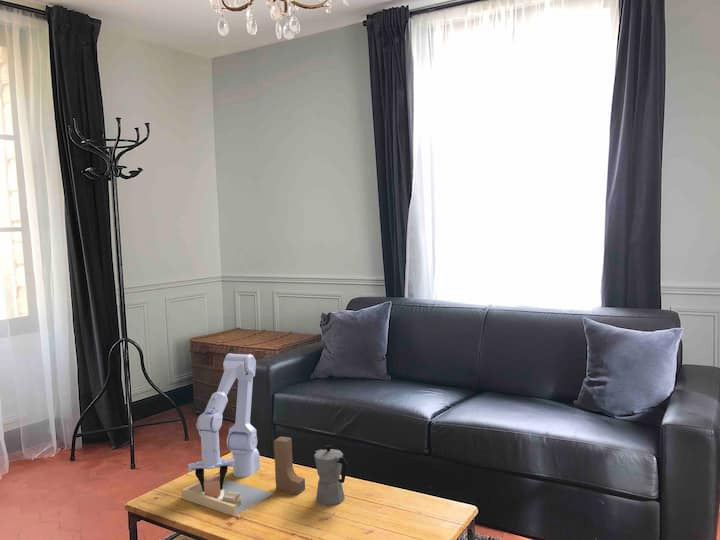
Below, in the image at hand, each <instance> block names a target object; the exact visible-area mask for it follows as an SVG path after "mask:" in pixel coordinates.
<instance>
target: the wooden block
mask: <svg viewBox="0 0 720 540" xmlns="http://www.w3.org/2000/svg"><path fill="white" fill-rule="evenodd" d="M292 441H293V440H292V437H289V436H281V435H280V436H278V437H277V438H276V439H274V440H273V448H274V449H273V451H274V468H275V469H274V472H275V473H274V474H275V476H274V477H275V491H276V492H282V493H286V494H287V493H288V494H294V495H300V494H302V493H303V492H304V491H305V490H306V479H305V477H302V476H299V475H298V474H297V473H296V472H295V469H294V466H293V443H292Z"/></svg>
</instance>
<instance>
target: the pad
mask: <svg viewBox="0 0 720 540" xmlns="http://www.w3.org/2000/svg"><path fill="white" fill-rule="evenodd" d="M203 494H204V492H203ZM223 496H224V490H221V495H220V496H213V498H216V499H219V500H222V499H223Z"/></svg>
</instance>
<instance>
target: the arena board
mask: <svg viewBox="0 0 720 540" xmlns="http://www.w3.org/2000/svg"><path fill="white" fill-rule="evenodd" d="M213 475H220V471H219V472H216V473H214V474H213ZM222 490H224V495H226V494H227V493H228V492H229V491H230V492H238V493H240V496H241V505H240V506H239V507H238V508H237V506H236V505H234V504H231V503H228V502H225V501H223V499H222V500H219V499H216V498H213V497H210V496H207V495H204V494H203V490H202V486H201V484H200V481H199V480H198V481H197V482H195V483H193V484H191V485H188V486H186V487H184V488H183V489H181V496H182V499H183V500H185V501H189V502H191V503H195V504H197V505H200V506H203V507H206V508H209V509H211V510H214V511H218V512H219V513H220V512H221V513H224V514H226V515H229V516H232V517H235V516H237V515H239V514H241V513H243V512H244V511H246V510H248V509H249V508H252V507H253V506H254V505H256V504H259V503H260V502H262V501H264V500H265V499H267V498H269V497H271V496H272V495H274V494H275V493H273V492H270V491H267V490H262V489H260V488H258V487H254V486H250V485H247V484H244V483H241V482H237V481H233V480H229V479H227V478H226V475H225V478H224V482H223V489H222Z"/></svg>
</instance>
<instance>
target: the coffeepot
mask: <svg viewBox="0 0 720 540" xmlns="http://www.w3.org/2000/svg"><path fill="white" fill-rule="evenodd" d="M331 447H332V445H330V444H328V445H325V449H317V450H314V452H315V454H313V456H314V461H315V467H316V472H317V473H316V474H317V475H318V478H319V479H318V483H317V490H316V496H315V497H316V501H317V502H318V504H320V505H322V506H326V507H327V506H328V507H330V506H336V505H339V504H341V503H343V501H344V499H345V494H344V488H343V484H345V480H346V475H347V471H348V468H349V467H348V462H347V460H346V458H345V457H344V453H343V452H342V451H341V450H339V449H334V448H333V449H332V448H331Z"/></svg>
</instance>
